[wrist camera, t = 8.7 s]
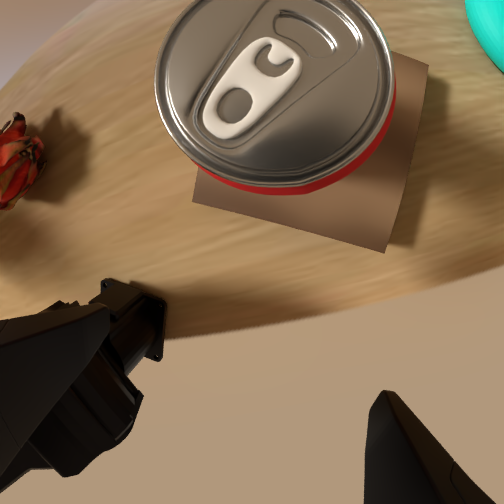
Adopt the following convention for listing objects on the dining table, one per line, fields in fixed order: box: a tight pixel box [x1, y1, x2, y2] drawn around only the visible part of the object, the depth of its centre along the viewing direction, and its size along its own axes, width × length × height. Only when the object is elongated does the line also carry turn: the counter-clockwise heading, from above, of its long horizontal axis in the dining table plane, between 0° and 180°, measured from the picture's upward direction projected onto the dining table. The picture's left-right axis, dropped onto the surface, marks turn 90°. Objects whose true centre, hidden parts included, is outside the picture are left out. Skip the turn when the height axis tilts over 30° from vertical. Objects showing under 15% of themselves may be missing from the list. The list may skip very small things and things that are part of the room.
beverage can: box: [154, 0, 396, 196], centre depth 10 cm, size 5×5×12 cm
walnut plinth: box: [192, 51, 429, 253], centre depth 17 cm, size 12×12×2 cm
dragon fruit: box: [0, 112, 47, 211], centre depth 20 cm, size 8×8×12 cm
